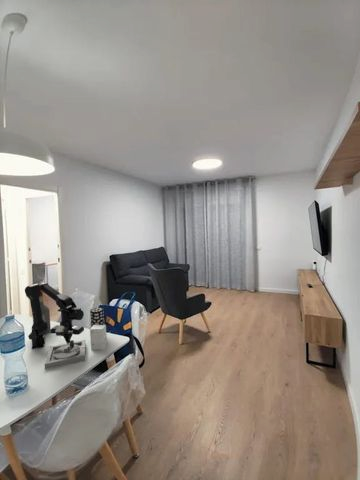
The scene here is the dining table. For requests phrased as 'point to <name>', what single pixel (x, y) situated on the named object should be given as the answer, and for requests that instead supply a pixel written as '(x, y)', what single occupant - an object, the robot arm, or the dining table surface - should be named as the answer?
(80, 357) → the grey square tray
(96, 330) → the small box
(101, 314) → the spotted tube
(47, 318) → the liquor
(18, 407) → the dining table surface
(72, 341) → the dial
